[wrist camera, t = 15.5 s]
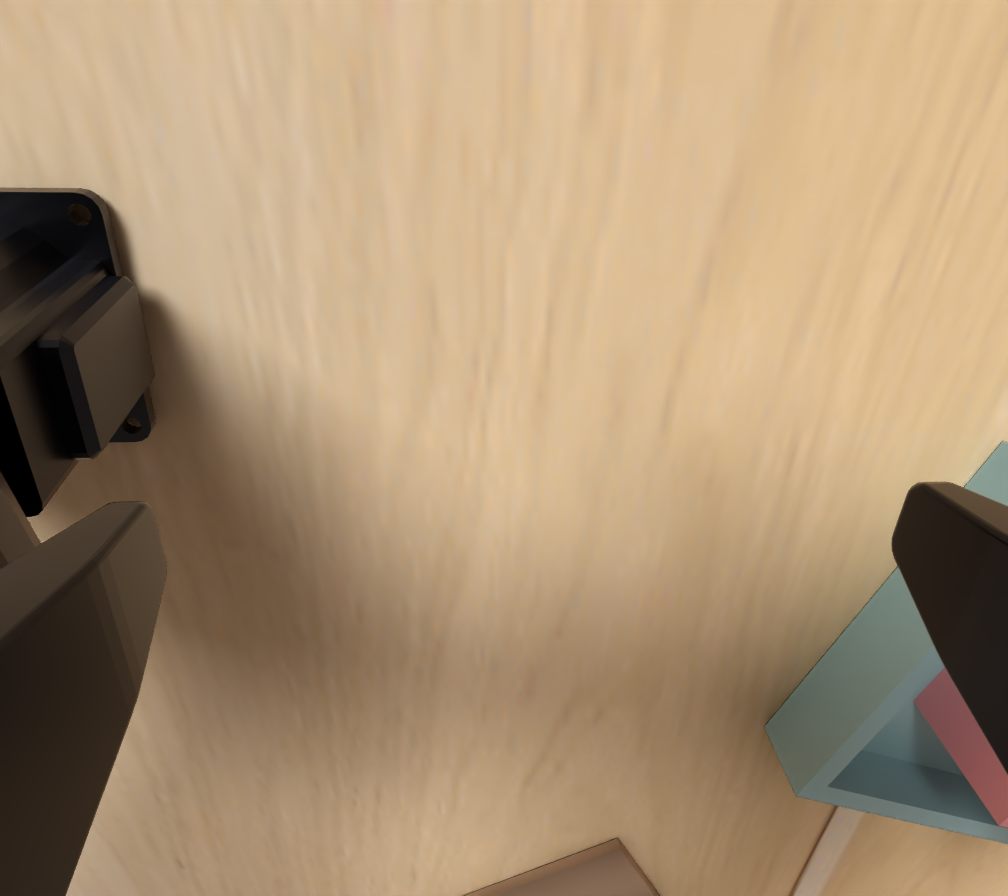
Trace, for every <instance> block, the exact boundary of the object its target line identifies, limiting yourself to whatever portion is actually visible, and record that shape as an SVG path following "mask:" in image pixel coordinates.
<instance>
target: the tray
mask: <svg viewBox="0 0 1008 896" xmlns="http://www.w3.org/2000/svg"><path fill="white" fill-rule="evenodd" d="M964 488H966V489H968V490H970V491H973V492H975V493H978V494H980V495H982V496H985V497H987V498H990V499H992V500H994V501H997V502H999V503H1002V504H1004V505H1006V506H1008V443H1007V442H1005V441H1003V442H1002V443H1001V444H1000V445H999V446H998V447H997V449H996V450H995V451H994V452H993V453H992V455H991V456H990V457H989V458H988V459H987V461H986V462H985V463H984V464H983V465H982V467H981V468H980V469H979V470H978V471H977V473H976V474H975V475H974V476H973V477H972V479H971V480H970V481H969V482H968V483H967V485H966V486H965V487H964ZM943 668H944V665H943V663H942V661H941V659H940V657H939V655H938V653H937V651H936V649H935V647H934V645H933V643H932V640H931V638H930V636H929V634H928V632H927V629H926V627H925V625H924V623H923V621H922V618H921V616H920V614H919V612H918V610H917V607H916V605H915V603H914V601H913V598H912V596H911V594H910V592H909V590H908V587H907V585H906V583H905V581H904V579H903V576H902V574H901V572H900V570H899V568H898V567H897V568H896V570H895V571H894V572H893V573H892V574H891V576H890V577H889V578H888V579H887V580H886V582H885V583H884V584H883V585H882V586H881V588H880V589H879V590H878V591H877V592H876V594H875V595H874V596H873V597H872V598H871V600H870V601H869V602H868V603H867V604H866V606H865V607H864V608H863V609H862V610H861V612H860V613H859V614H858V615H857V616H856V618H855V619H854V620H853V621H852V622H851V624H850V625H849V626H848V627H847V628H846V630H845V631H844V632H843V633H842V634H841V636H840V637H839V638H838V639H837V640H836V642H835V643H834V644H833V645H832V646H831V648H830V649H829V650H828V651H827V652H826V654H825V655H824V656H823V657H822V658H821V660H820V661H819V662H818V663H817V664H816V665H815V667H814V668H813V669H812V670H811V671H810V673H809V674H808V675H807V676H806V677H805V679H804V680H803V681H802V682H801V683H800V685H799V686H798V687H797V688H796V689H795V691H794V692H793V693H792V694H791V695H790V697H789V698H788V699H787V700H786V701H785V703H784V704H783V705H782V706H781V707H780V709H779V710H778V711H777V712H776V713H775V715H774V716H773V717H772V718H771V719H770V721H769V722H768V723H767V724H766V725H765V727H764V728H765V730H766V732H767V735H768V737H769V739H770V741H771V743H772V745H773V748H774V750H775V752H776V754H777V756H778V759H779V761H780V763H781V765H782V767H783V769H784V772H785V774H786V776H787V778H788V780H789V782H790V785H791V787H792V789H793V791H794V793H795V796H796V797H801V798H805V799H810V800H814V801H819V802H823V803H828V804H832V805H837V806H841V807H845V808H850V809H854V810H859V811H863V812H868V813H872V814H877V815H881V816H886V817H890V818H894V819H899V820H903V821H908V822H912V823H917V824H921V825H926V826H930V827H935V828H939V829H943V830H948V831H952V832H957V833H961V834H966V835H970V836H975V837H979V838H984V839H988V840H992V841H997V842H1001V843H1006V844H1008V828H1007V827H1002V826H999V825H998V824H997V822H996V821H995V820H994V818H993V817H992V815H991V814H990V812H989V811H988V809H987V808H986V806H985V805H984V804H983V802H982V801H981V799H980V798H979V796H978V795H977V793H976V792H975V790H974V789H973V787H972V786H971V785H970V783H969V782H968V780H967V779H966V777H965V776H964V774H963V773H962V771H961V770H960V768H959V767H958V766H957V764H956V763H955V761H954V760H953V758H952V757H951V755H950V754H949V752H948V751H947V749H946V748H945V747H944V745H943V744H942V742H941V741H940V739H939V738H938V736H937V735H936V733H935V732H934V731H933V729H932V728H931V726H930V725H929V723H928V722H927V720H926V719H925V717H924V716H923V714H922V713H921V712H920V710H919V709H918V707H917V706H916V704H915V703H914V699H915V698H916V697H917V696H918V695H919V694H920V693H921V692H922V691H923V690H924V689H925V688H926V687H927V686H928V684H929V683H930V682H931V681H932V680H933V679H934V678H935V677H936V676H937V675H938V674H939V673H940V672H941V671H942V669H943Z"/></svg>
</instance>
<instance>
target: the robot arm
mask: <svg viewBox="0 0 1008 896" xmlns="http://www.w3.org/2000/svg"><path fill="white" fill-rule="evenodd" d="M76 203H78V204H82V205H84V206H85V207H86V208H88V209H89V211H90V213H91V221H90V222H88V221H84V220H82V219H80V218H79V217H78V216H77V214H76V213H75V211H74V208H75V204H76ZM154 376H155V371H154V367H153V362H152V357H151V353H150V348H149V344H148V339H147V335H146V330H145V326H144V321H143V316H142V312H141V307H140V303H139V298H138V294H137V289H136V285H135V284H134V283H133V282H132V281H130V280H129V279H128V278H127V277H126V276H123V273H122V269H121V264H120V260H119V255H118V251H117V247H116V242H115V238H114V233H113V229H112V224H111V220H110V216H109V211H108V209H107V206H106V204H105V202H104V201H103V200H102V199H101V198H100V196H99V195H97V194H96V193H94V192H92V191H90V190H86V189H81V188H0V896H66V893H67V890H68V888H69V885H70V882H71V879H72V877H73V874H74V871H75V869H76V866H77V863H78V860H79V858H80V855H81V852H82V850H83V847H84V844H85V841H86V839H87V836H88V833H89V830H90V828H91V825H92V822H93V820H94V817H95V814H96V811H97V809H98V806H99V803H100V801H101V798H102V795H103V792H104V790H105V787H106V784H107V782H108V779H109V776H110V773H111V771H112V768H113V765H114V762H115V760H116V757H117V754H118V752H119V749H120V746H121V743H122V741H123V738H124V735H125V733H126V730H127V727H128V724H129V722H130V719H131V716H132V713H133V710H134V707H135V704H136V701H137V698H138V695H139V691H140V687H141V683H142V679H143V675H144V671H145V667H146V662H147V658H148V654H149V650H150V645H151V641H152V637H153V632H154V628H155V624H156V620H157V615H158V611H159V607H160V603H161V598H162V594H163V590H164V585H165V581H166V573H167V566H166V558H165V554H164V549H163V545H162V541H161V537H160V533H159V529H158V525H157V521H156V516H155V513H154V510H153V509H152V507H151V505H150V504H148V503H147V502H143V501H136V502H112V503H109V504H107V505H105V506H103V507H102V508H100V509H98V510H97V511H95V512H93V513H92V514H90V515H88V516H87V517H85V518H83V519H82V520H80V521H78V522H77V523H75V524H73V525H72V526H70V527H68V528H67V529H65V530H63V531H62V532H60V533H58V534H57V535H55V536H53V537H52V538H50V539H48V540H47V541H45V542H43V543H42V544H41V542H40V541H39V539H38V537H37V535H36V534H35V532H34V530H33V528H32V527H31V525H30V523H29V521H28V519H27V518H26V517H32V516H36V515H38V514H39V513H40V512H41V511H42V510H43V509H44V507H45V506H46V505H47V503H48V502H49V500H50V499H51V498H52V496H53V495H54V494H55V492H56V491H57V490H58V488H59V487H60V485H61V484H62V483H63V481H64V480H65V479H66V477H67V476H68V475H69V473H70V472H71V470H72V469H73V468H74V466H75V465H76V464H77V462H78V461H79V460H93V459H95V458H96V457H97V456H98V455H99V454H100V453H101V452H102V450H103V449H104V448H105V447H106V445H107V444H108V442H137V441H142V440H144V439H145V438H147V437H148V436H149V434H150V433H151V431H152V429H153V427H154V426H155V415H154V410H153V406H152V401H151V397H150V392H149V388H148V385H149V383H150V382H151V381H152V379H153V378H154ZM127 417H132V418H135V419H137V420H138V421H139V422H140V424H141V426H139V427H136V426H132V425H131V424H129V423H128V421H127V419H126V418H127ZM892 552H893V556H894V559H895V561H896V563H897V565H898V568H899V570H900V572H901V574H902V576H903V579H904V581H905V583H906V585H907V587H908V590H909V592H910V594H911V596H912V598H913V601H914V603H915V605H916V607H917V610H918V612H919V614H920V616H921V618H922V621H923V623H924V625H925V627H926V629H927V632H928V634H929V636H930V638H931V640H932V643H933V645H934V647H935V649H936V651H937V653H938V655H939V657H940V659H941V661H942V663H943V665H944V667H945V668H946V670H947V672H948V674H949V676H950V677H951V679H952V681H953V683H954V684H955V686H956V688H957V690H958V691H959V693H960V695H961V696H962V698H963V700H964V702H965V703H966V705H967V707H968V708H969V710H970V712H971V713H972V715H973V717H974V719H975V720H976V722H977V724H978V725H979V727H980V729H981V731H982V732H983V734H984V736H985V737H986V739H987V741H988V743H989V744H990V746H991V748H992V749H993V751H994V753H995V755H996V756H997V758H998V760H999V761H1000V763H1001V765H1002V766H1003V768H1004V770H1005V772H1006V773H1007V775H1008V506H1006V505H1004V504H1002V503H999V502H997V501H994V500H992V499H990V498H987V497H985V496H982V495H980V494H978V493H975V492H973V491H970V490H968V489H966V488H963V487H961V486H958V485H956V484H954V483H950V482H920V483H917V484H915V485H913V486H912V487H911V488H910V489H909V491H908V493H907V495H906V498H905V501H904V504H903V507H902V510H901V513H900V515H899V518H898V521H897V524H896V527H895V530H894V533H893V536H892Z"/></svg>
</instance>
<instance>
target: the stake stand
mask: <svg viewBox="0 0 1008 896" xmlns="http://www.w3.org/2000/svg"><path fill="white" fill-rule="evenodd" d="M465 896H660V895H659V894H658V893H657V891H656V890H655V888H654V887H653V886H652V884H651V883H650V882H649V880H648V879H647V878H646V876H645V875H644V873H643V872H642V871H641V869H640V868H639V867H638V865H637V864H636V863H635V861H634V860H633V858H632V857H631V856H630V854H629V853H628V852H627V850H626V849H625V848H624V846H623V845H622V844H621V842H620V841H619V839H618V838H616V839H614V840H611V841H608V842H606V843H603V844H601V845H598V846H595V847H593V848H590V849H587V850H585V851H582V852H579V853H577V854H574V855H571V856H569V857H566V858H563V859H561V860H558V861H555V862H553V863H550V864H547V865H545V866H542V867H539V868H537V869H534V870H531V871H529V872H526V873H523V874H521V875H518V876H515V877H513V878H510V879H507V880H505V881H502V882H499V883H497V884H494V885H491V886H489V887H486V888H483V889H481V890H478V891H475V892H473V893H470V894H467V895H465Z"/></svg>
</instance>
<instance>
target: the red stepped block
mask: <svg viewBox="0 0 1008 896" xmlns="http://www.w3.org/2000/svg"><path fill="white" fill-rule="evenodd" d="M914 703H915V704H916V706H917V707H918V709H919V710H920V712H921V713H922V714H923V716H924V717H925V719H926V720H927V722H928V723H929V725H930V726H931V728H932V729H933V731H934V732H935V733H936V735H937V736H938V738H939V739H940V741H941V742H942V744H943V745H944V747H945V748H946V749H947V751H948V752H949V754H950V755H951V757H952V758H953V760H954V761H955V763H956V764H957V766H958V767H959V768H960V770H961V771H962V773H963V774H964V776H965V777H966V779H967V780H968V782H969V783H970V785H971V786H972V787H973V789H974V790H975V792H976V793H977V795H978V796H979V798H980V799H981V801H982V802H983V804H984V805H985V806H986V808H987V809H988V811H989V812H990V814H991V815H992V817H993V818H994V820H995V821H996V822H997V824H998V825H999V826H1002V827H1007V828H1008V775H1007V773H1006V772H1005V770H1004V768H1003V766H1002V765H1001V763H1000V761H999V760H998V758H997V756H996V755H995V753H994V751H993V749H992V748H991V746H990V744H989V743H988V741H987V739H986V737H985V736H984V734H983V732H982V731H981V729H980V727H979V725H978V724H977V722H976V720H975V719H974V717H973V715H972V713H971V712H970V710H969V708H968V707H967V705H966V703H965V702H964V700H963V698H962V696H961V695H960V693H959V691H958V690H957V688H956V686H955V684H954V683H953V681H952V679H951V677H950V676H949V674H948V672H947V670H946V668H945V667H944V668H943V669H942V671H941V672H940V673H939V674H938V675H937V676H936V677H935V678H934V679H933V680H932V681H931V682H930V683H929V684H928V686H927V687H926V688H925V689H924V690H923V691H922V692H921V693H920V694H919V695H918V696H917V697H916V698H915V699H914Z"/></svg>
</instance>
